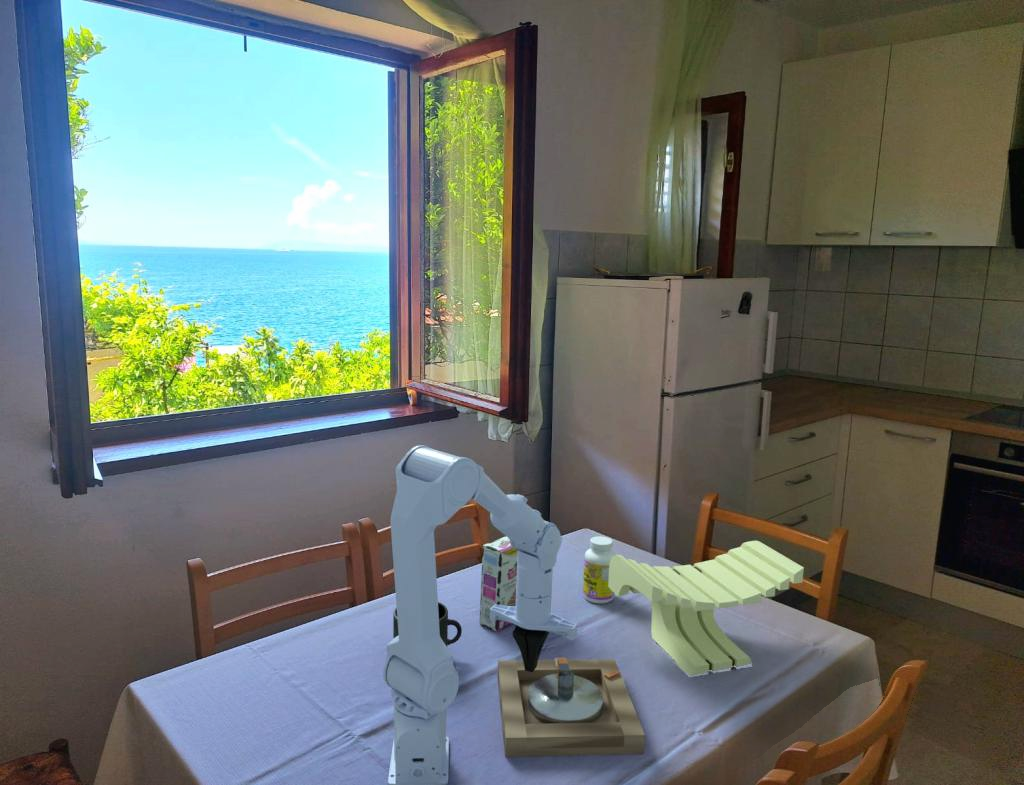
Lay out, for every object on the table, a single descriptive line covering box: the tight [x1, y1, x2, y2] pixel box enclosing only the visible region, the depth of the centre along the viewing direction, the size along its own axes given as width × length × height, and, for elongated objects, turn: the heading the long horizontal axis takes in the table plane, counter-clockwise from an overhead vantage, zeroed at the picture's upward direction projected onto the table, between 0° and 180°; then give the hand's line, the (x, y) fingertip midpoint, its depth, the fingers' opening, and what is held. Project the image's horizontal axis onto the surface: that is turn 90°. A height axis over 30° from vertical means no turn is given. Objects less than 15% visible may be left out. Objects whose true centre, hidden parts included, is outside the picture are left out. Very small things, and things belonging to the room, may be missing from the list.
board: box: [496, 657, 646, 758], centre depth 111 cm, size 20×20×4 cm
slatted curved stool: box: [608, 540, 805, 676], centre depth 130 cm, size 30×16×18 cm, turn 108°
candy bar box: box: [479, 535, 520, 633], centre depth 139 cm, size 11×5×16 cm, turn 141°
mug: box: [392, 601, 463, 647], centre depth 124 cm, size 9×12×9 cm
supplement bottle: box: [582, 536, 617, 605], centre depth 149 cm, size 7×7×13 cm
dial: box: [528, 657, 603, 724], centre depth 111 cm, size 12×12×5 cm
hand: (530, 668), depth 116 cm, fingers closed
